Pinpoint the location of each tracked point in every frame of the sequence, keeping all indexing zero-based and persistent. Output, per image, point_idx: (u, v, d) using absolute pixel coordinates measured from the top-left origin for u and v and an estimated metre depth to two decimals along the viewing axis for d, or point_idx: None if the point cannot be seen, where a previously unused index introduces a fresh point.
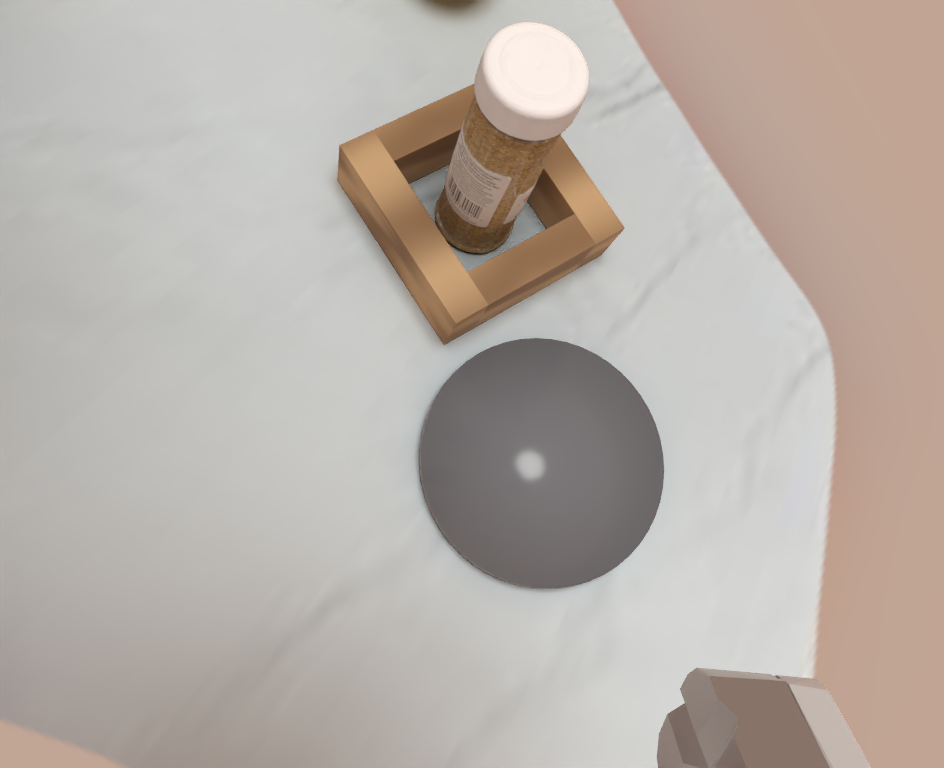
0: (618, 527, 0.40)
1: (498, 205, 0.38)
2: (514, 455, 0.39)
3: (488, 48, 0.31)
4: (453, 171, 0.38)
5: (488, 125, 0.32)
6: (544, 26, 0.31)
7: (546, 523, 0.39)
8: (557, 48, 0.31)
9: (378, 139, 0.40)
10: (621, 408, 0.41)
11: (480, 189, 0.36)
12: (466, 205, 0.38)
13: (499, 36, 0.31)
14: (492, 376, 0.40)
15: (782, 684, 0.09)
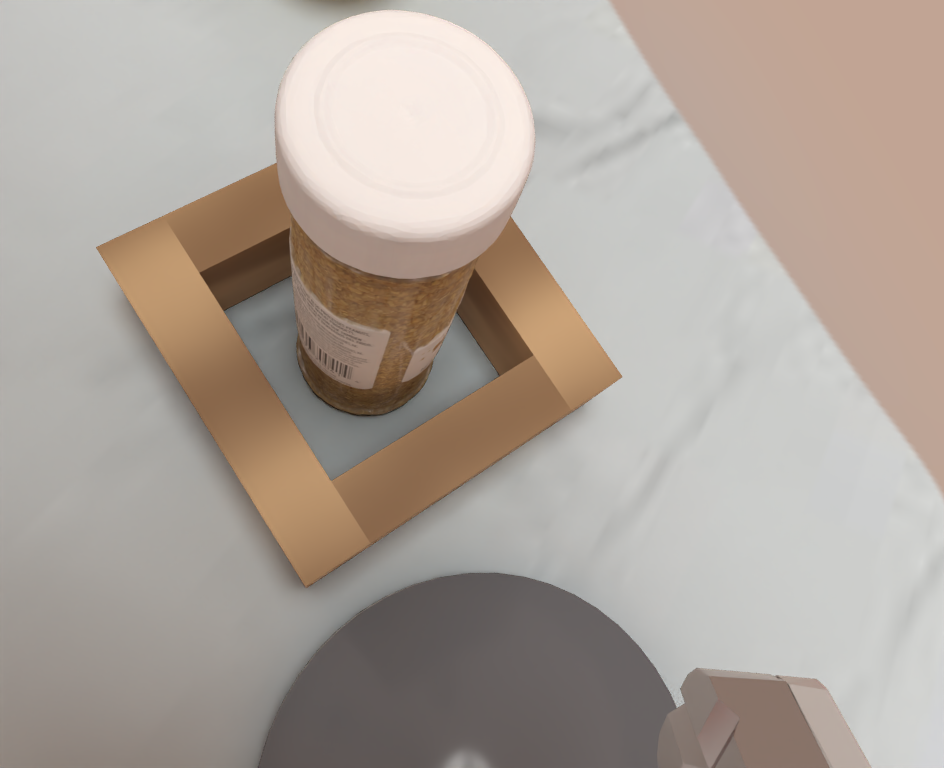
0: None
1: (381, 364, 0.20)
2: None
3: (289, 73, 0.13)
4: (294, 300, 0.20)
5: (313, 243, 0.14)
6: (429, 18, 0.14)
7: None
8: (458, 70, 0.13)
9: (173, 232, 0.22)
10: (621, 695, 0.23)
11: (336, 342, 0.19)
12: (325, 359, 0.20)
13: (319, 43, 0.13)
14: (388, 654, 0.22)
15: (782, 685, 0.09)
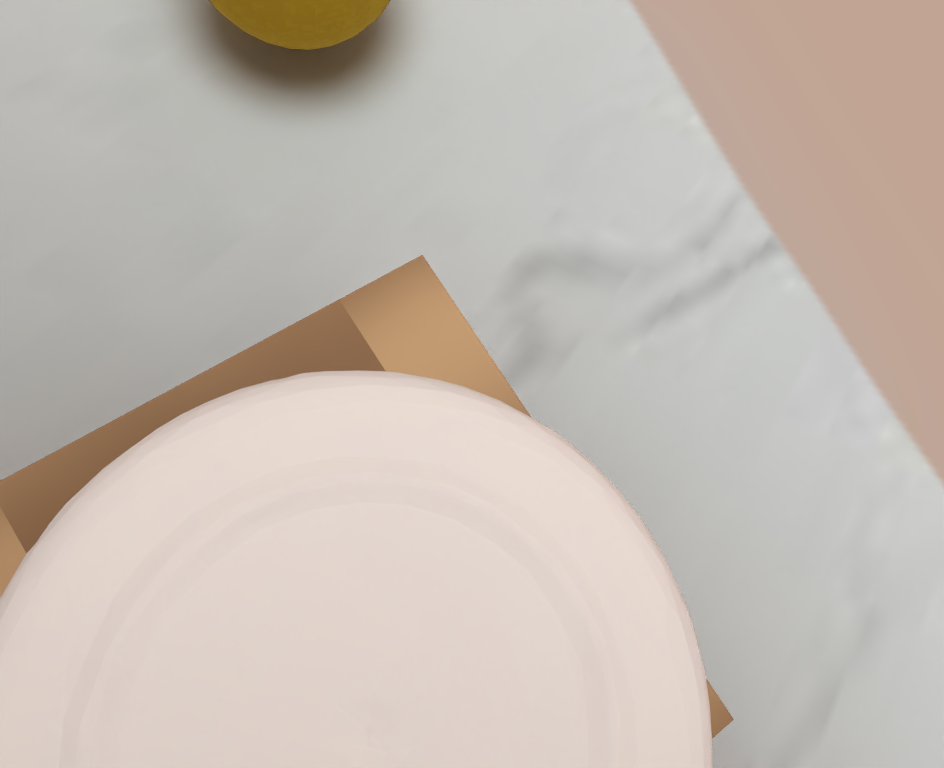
0: None
1: None
2: None
3: None
4: None
5: None
6: (424, 400, 0.05)
7: None
8: (504, 562, 0.05)
9: (6, 514, 0.13)
10: None
11: None
12: None
13: (99, 519, 0.04)
14: None
15: None
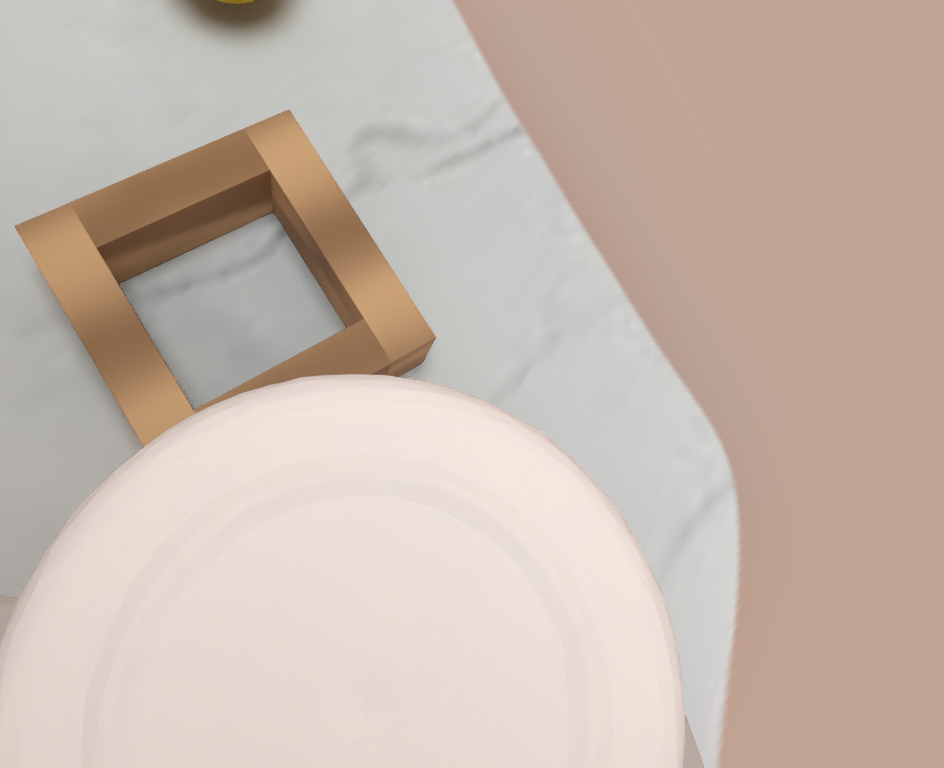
0: None
1: None
2: None
3: (21, 622, 0.05)
4: None
5: None
6: (414, 402, 0.05)
7: None
8: (490, 550, 0.05)
9: (77, 216, 0.28)
10: None
11: None
12: None
13: (111, 515, 0.05)
14: None
15: None
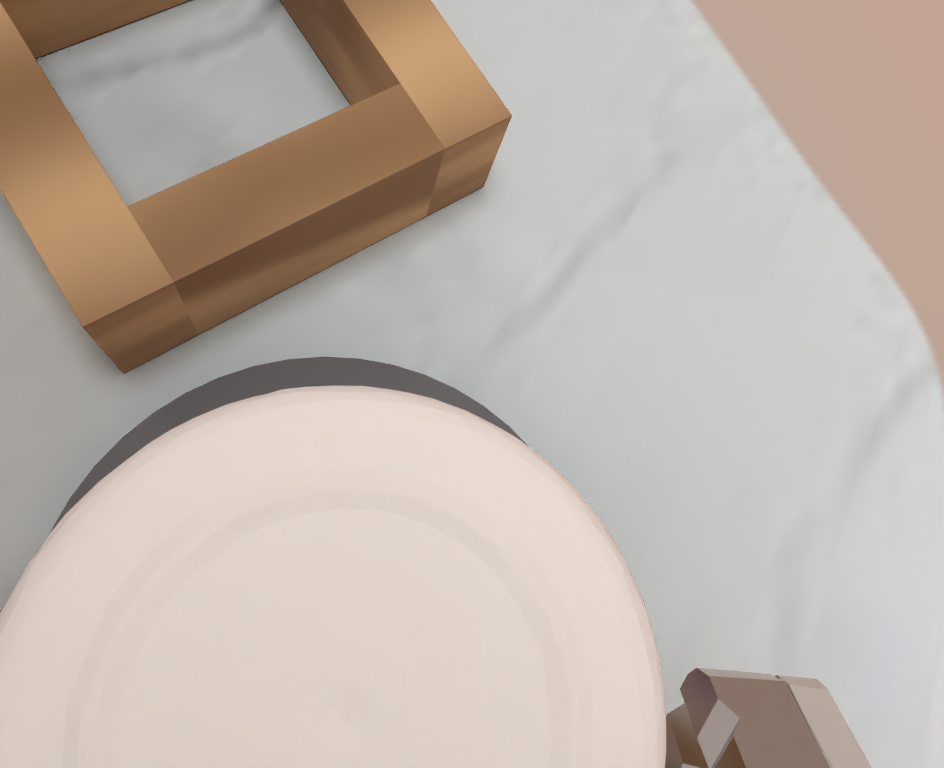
0: None
1: None
2: None
3: (3, 636, 0.05)
4: None
5: None
6: (394, 413, 0.05)
7: None
8: (471, 562, 0.05)
9: None
10: None
11: None
12: None
13: (94, 528, 0.05)
14: None
15: (782, 684, 0.09)
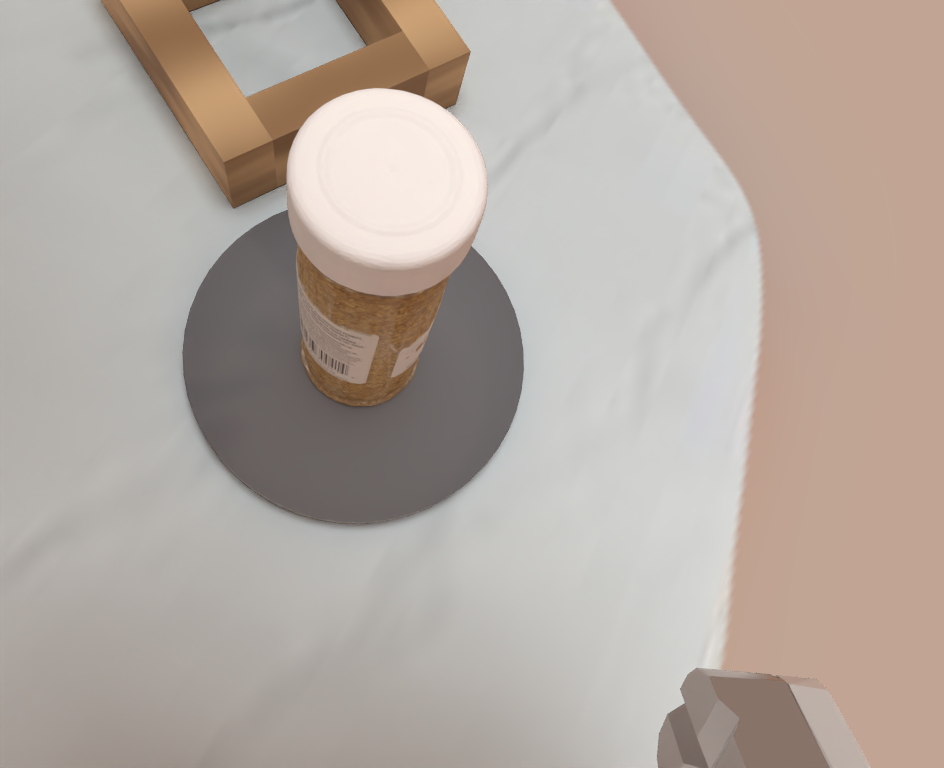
0: (456, 442, 0.29)
1: (372, 363, 0.24)
2: None
3: (297, 141, 0.17)
4: (300, 310, 0.24)
5: (316, 268, 0.18)
6: (405, 94, 0.18)
7: (355, 436, 0.29)
8: (427, 135, 0.17)
9: None
10: (468, 289, 0.31)
11: (335, 345, 0.23)
12: (326, 359, 0.24)
13: (320, 116, 0.17)
14: (291, 244, 0.30)
15: (782, 685, 0.09)
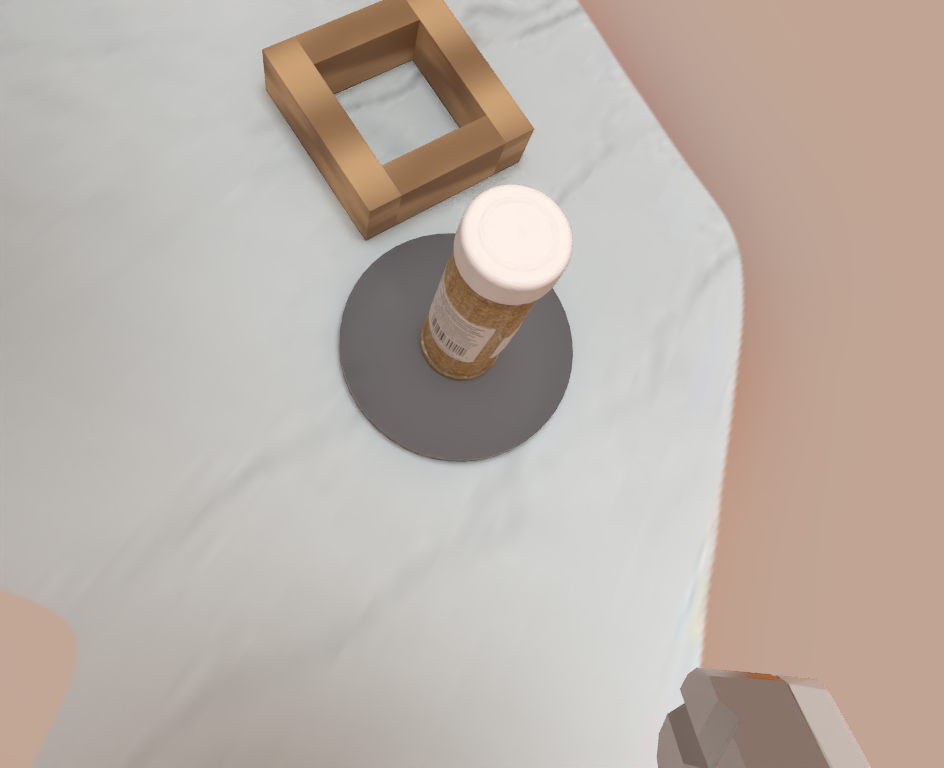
0: (527, 405, 0.42)
1: (483, 347, 0.36)
2: None
3: (466, 217, 0.30)
4: (436, 313, 0.36)
5: (469, 289, 0.31)
6: (524, 188, 0.30)
7: (458, 400, 0.41)
8: (538, 212, 0.30)
9: (299, 45, 0.43)
10: None
11: (463, 335, 0.35)
12: (451, 345, 0.37)
13: (478, 202, 0.30)
14: (409, 267, 0.43)
15: (782, 684, 0.09)
